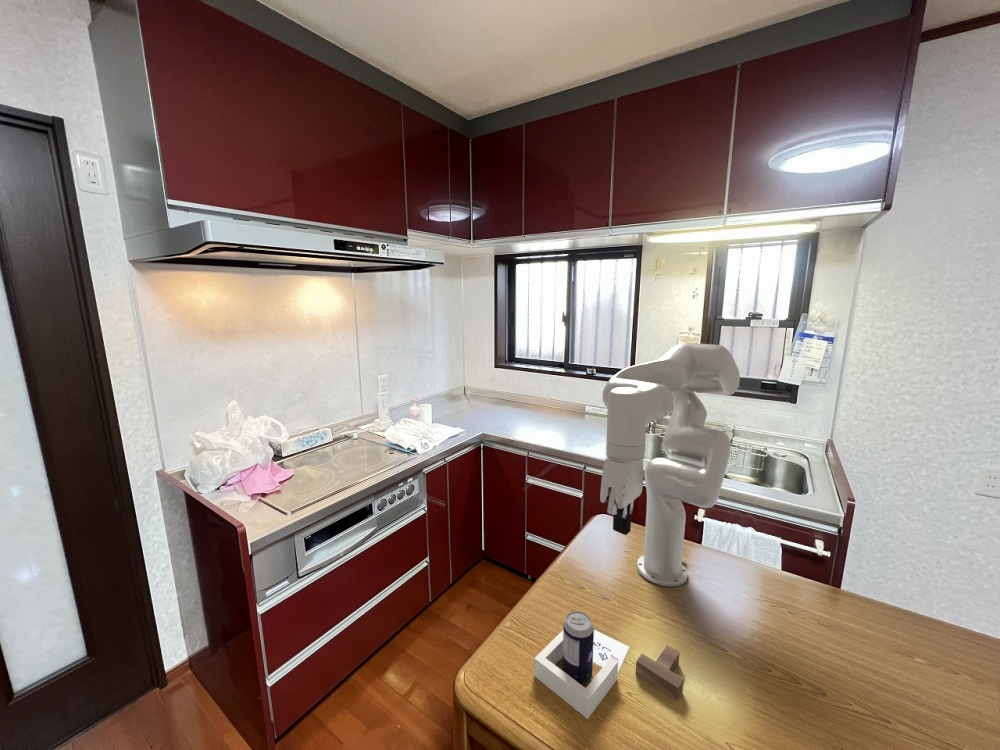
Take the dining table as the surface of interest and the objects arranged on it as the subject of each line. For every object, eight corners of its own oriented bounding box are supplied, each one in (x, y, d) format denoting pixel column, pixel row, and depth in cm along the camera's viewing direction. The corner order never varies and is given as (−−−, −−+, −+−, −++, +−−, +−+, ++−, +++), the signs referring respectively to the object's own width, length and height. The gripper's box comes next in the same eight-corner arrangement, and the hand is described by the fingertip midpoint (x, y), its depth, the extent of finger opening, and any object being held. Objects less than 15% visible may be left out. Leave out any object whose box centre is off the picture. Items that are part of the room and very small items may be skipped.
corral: (565, 643, 86) (565, 627, 85) (617, 679, 78) (618, 661, 77) (534, 675, 78) (534, 658, 78) (587, 719, 70) (588, 699, 69)
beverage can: (592, 691, 75) (594, 635, 73) (561, 685, 76) (562, 629, 74) (592, 665, 81) (594, 612, 79) (563, 660, 82) (564, 607, 80)
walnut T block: (652, 649, 84) (653, 637, 84) (693, 673, 79) (694, 660, 78) (635, 674, 79) (636, 661, 78) (677, 702, 73) (678, 687, 73)
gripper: (625, 435, 90) (622, 511, 93) (589, 454, 79) (586, 539, 83) (658, 443, 84) (654, 523, 88) (624, 464, 74) (620, 555, 77)
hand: (621, 531), depth 85 cm, fingers closed
